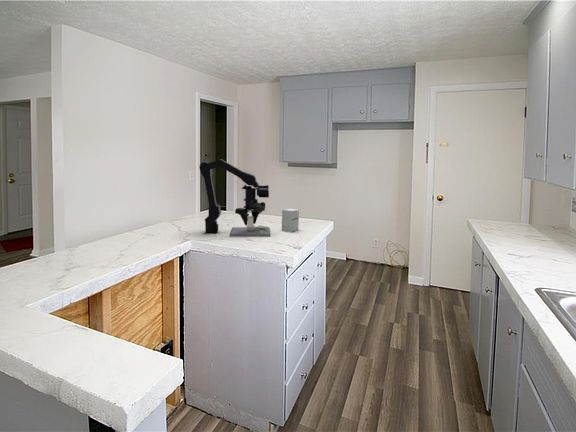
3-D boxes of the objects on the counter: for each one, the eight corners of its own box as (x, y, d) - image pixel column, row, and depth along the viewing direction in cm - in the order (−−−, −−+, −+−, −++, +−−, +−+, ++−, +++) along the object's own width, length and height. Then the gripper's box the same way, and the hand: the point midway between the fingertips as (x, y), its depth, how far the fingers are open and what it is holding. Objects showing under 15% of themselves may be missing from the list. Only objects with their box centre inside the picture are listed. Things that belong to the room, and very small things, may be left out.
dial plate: (229, 236, 199) (229, 231, 199) (232, 229, 216) (232, 225, 215) (270, 236, 201) (270, 231, 200) (269, 229, 217) (269, 225, 217)
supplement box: (291, 232, 212) (291, 210, 209) (281, 230, 216) (281, 209, 214) (298, 230, 218) (299, 209, 215) (288, 228, 222) (289, 207, 220)
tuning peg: (246, 231, 205) (246, 218, 204) (247, 229, 211) (246, 216, 209) (268, 231, 206) (268, 218, 204) (268, 229, 211) (268, 216, 210)
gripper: (249, 200, 193) (249, 229, 196) (272, 197, 207) (271, 224, 210) (234, 198, 199) (234, 226, 202) (257, 195, 214) (257, 221, 217)
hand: (250, 224), depth 208 cm, fingers closed on tuning peg, 6 cm apart
